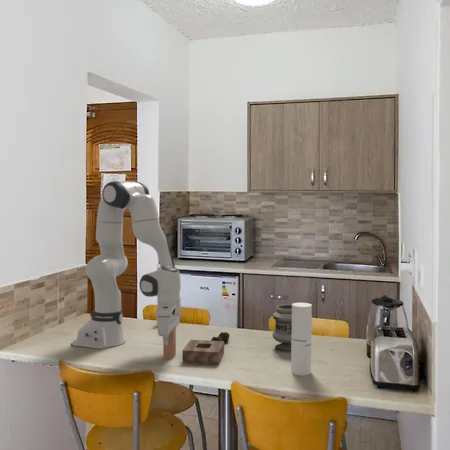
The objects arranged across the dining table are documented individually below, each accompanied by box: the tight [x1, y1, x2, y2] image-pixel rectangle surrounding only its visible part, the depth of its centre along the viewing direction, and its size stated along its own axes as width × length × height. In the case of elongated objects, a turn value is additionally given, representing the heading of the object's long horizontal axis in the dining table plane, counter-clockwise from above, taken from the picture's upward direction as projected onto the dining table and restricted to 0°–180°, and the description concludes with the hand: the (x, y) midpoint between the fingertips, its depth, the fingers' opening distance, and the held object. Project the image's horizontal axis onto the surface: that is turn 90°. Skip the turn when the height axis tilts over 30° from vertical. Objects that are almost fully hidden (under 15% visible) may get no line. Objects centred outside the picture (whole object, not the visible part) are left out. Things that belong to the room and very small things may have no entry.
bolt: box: [210, 331, 230, 344], centre depth 213 cm, size 6×5×15 cm
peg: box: [162, 326, 177, 359], centre depth 197 cm, size 4×4×12 cm
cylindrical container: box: [290, 302, 313, 377], centre depth 180 cm, size 7×7×25 cm
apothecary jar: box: [272, 303, 292, 353], centre depth 208 cm, size 12×12×18 cm
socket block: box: [181, 339, 225, 366], centre depth 195 cm, size 14×14×5 cm
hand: (169, 341), depth 197 cm, fingers open, 8 cm apart
